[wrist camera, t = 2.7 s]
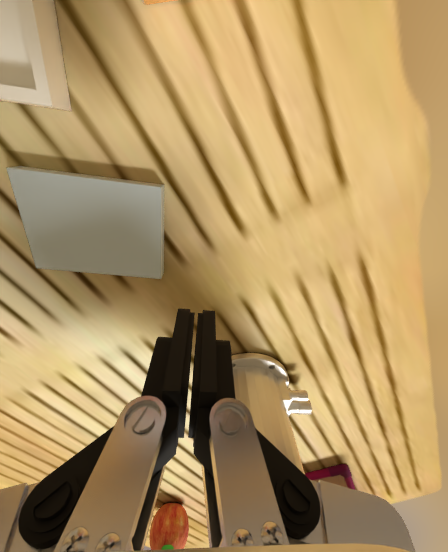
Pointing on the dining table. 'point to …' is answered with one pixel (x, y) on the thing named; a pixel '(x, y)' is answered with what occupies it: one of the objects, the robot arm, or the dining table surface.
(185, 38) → the dining table surface
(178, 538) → the fruit
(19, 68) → the tray
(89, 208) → the pale grey flat panel
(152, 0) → the small box
